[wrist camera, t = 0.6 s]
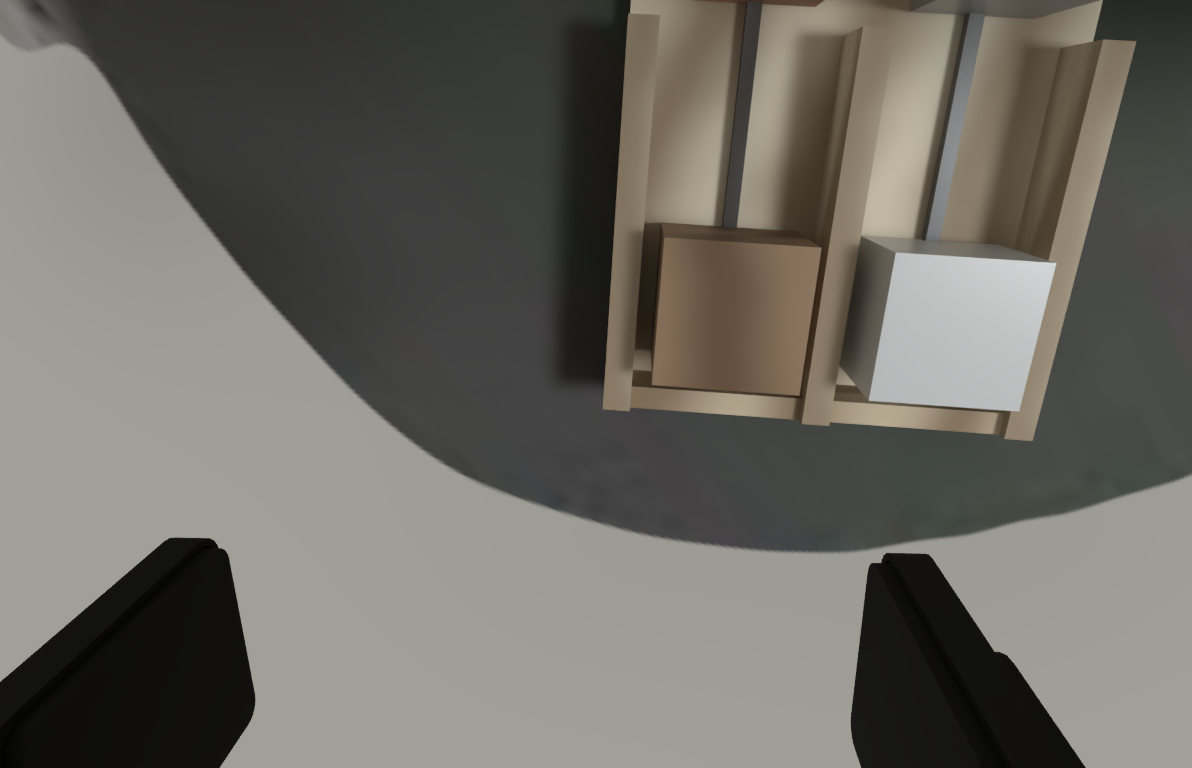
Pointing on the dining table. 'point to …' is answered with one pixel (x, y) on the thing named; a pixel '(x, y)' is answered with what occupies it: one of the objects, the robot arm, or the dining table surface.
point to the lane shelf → (855, 169)
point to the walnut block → (734, 280)
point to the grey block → (948, 278)
